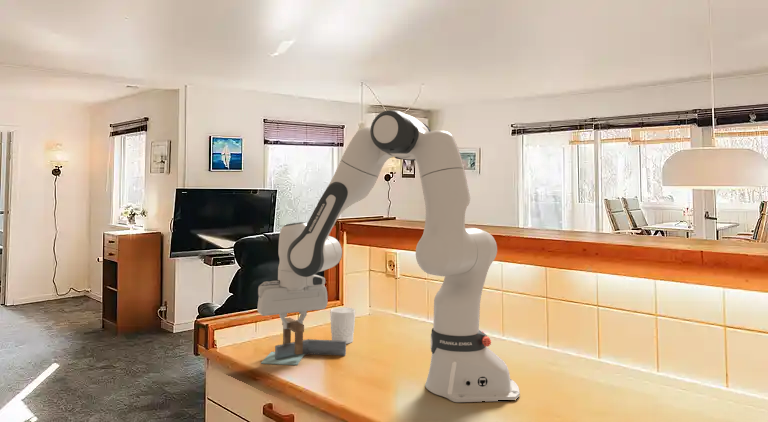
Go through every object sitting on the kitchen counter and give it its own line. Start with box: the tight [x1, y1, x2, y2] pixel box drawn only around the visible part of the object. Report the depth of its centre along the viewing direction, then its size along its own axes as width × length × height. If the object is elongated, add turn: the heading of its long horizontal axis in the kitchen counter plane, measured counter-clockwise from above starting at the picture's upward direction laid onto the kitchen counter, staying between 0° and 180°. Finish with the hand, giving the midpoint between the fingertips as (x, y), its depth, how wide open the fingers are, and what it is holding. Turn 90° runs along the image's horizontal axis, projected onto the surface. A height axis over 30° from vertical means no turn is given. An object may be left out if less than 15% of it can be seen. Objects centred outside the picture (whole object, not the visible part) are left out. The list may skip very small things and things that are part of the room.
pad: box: [260, 351, 306, 366], centre depth 148 cm, size 10×10×1 cm
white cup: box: [330, 306, 356, 345], centre depth 166 cm, size 8×8×10 cm
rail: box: [274, 338, 347, 360], centre depth 150 cm, size 19×9×4 cm, turn 86°
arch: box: [281, 317, 305, 355], centre depth 150 cm, size 2×10×8 cm, turn 33°
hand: (292, 327), depth 150 cm, fingers closed on arch, 2 cm apart
